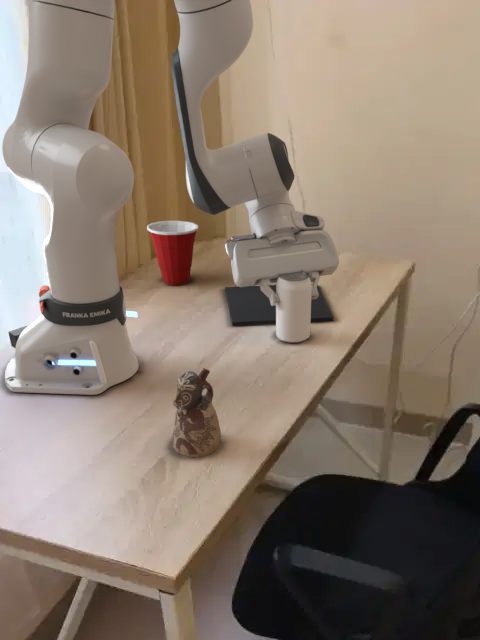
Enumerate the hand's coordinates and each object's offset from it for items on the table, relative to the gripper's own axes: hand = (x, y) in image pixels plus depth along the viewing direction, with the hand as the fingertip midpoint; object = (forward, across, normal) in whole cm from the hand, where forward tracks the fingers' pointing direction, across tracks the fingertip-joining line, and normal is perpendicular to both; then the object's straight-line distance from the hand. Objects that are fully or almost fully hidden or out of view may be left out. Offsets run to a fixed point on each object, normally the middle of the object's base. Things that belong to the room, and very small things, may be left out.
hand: (295, 301), depth 137 cm
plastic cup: (-20, -13, +30) cm, 39 cm away
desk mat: (-6, +3, +16) cm, 17 cm away
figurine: (+25, -28, -15) cm, 41 cm away
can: (+5, 0, +6) cm, 7 cm away
